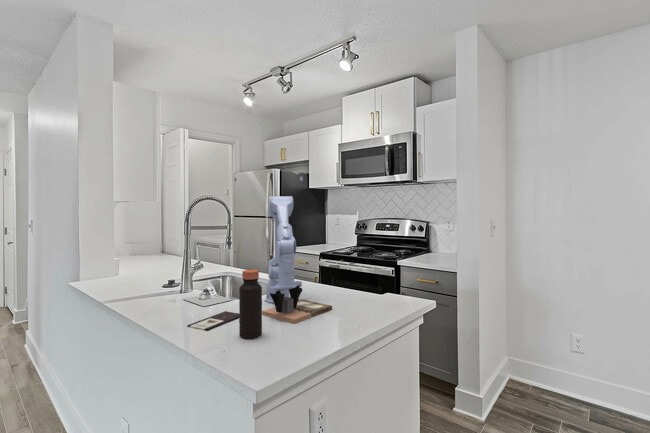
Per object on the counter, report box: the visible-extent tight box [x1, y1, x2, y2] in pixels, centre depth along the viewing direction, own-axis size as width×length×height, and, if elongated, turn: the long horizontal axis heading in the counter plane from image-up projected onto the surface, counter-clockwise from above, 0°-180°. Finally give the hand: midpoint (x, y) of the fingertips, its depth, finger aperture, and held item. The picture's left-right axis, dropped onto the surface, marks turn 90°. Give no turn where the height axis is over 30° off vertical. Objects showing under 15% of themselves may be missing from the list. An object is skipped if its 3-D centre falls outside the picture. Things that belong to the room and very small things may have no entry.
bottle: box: [238, 269, 263, 340], centre depth 111 cm, size 7×7×20 cm
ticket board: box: [293, 298, 333, 318], centre depth 140 cm, size 16×12×2 cm
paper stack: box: [167, 294, 234, 307], centre depth 152 cm, size 23×25×1 cm
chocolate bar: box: [186, 310, 239, 332], centre depth 125 cm, size 9×1×18 cm
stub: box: [262, 296, 312, 325], centre depth 131 cm, size 16×9×6 cm, turn 52°
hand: (286, 309), depth 131 cm, fingers open, 7 cm apart
